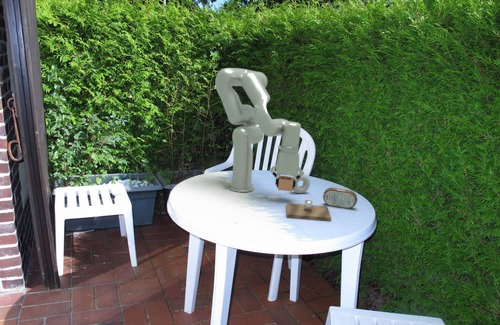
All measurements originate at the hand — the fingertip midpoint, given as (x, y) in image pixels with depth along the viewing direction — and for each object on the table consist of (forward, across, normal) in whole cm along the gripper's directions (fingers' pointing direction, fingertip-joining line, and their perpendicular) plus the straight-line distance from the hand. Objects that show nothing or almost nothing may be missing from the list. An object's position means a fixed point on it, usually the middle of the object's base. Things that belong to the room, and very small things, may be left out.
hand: (285, 187), depth 179 cm
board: (+6, +10, -15) cm, 19 cm away
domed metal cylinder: (+4, +10, -15) cm, 18 cm away
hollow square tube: (+1, 0, 0) cm, 1 cm away
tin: (+6, +25, -3) cm, 26 cm away
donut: (+7, +8, +13) cm, 17 cm away
